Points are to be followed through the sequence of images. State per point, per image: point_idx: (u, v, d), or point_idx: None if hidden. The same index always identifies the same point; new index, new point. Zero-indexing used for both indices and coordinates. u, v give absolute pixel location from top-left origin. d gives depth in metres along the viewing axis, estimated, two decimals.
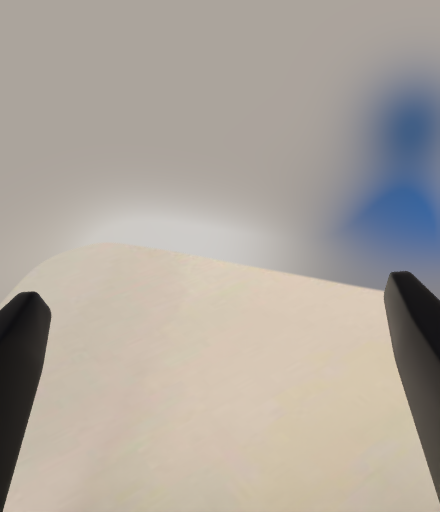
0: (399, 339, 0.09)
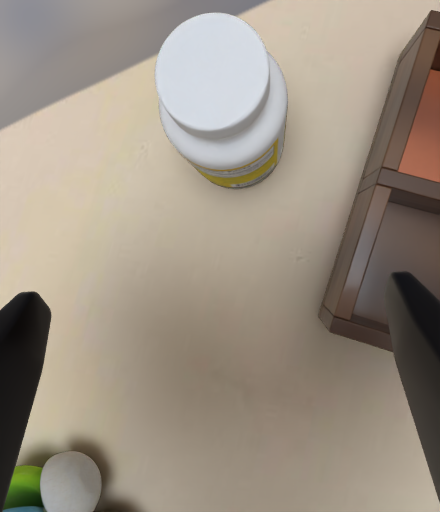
0: (399, 339, 0.09)
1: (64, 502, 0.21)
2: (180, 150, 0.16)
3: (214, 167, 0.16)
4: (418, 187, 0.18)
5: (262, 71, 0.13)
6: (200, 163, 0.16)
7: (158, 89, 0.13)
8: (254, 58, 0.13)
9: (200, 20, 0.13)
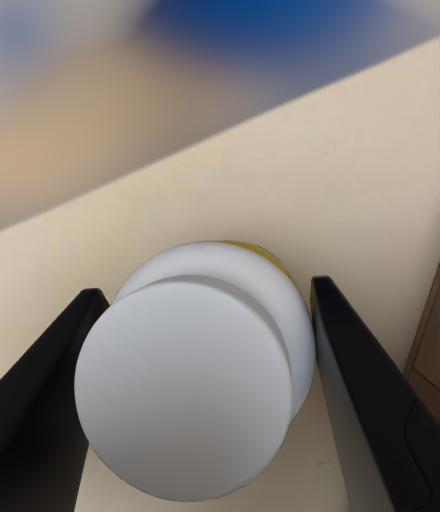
0: (317, 342, 0.09)
1: None
2: None
3: None
4: None
5: (279, 405, 0.07)
6: None
7: (80, 418, 0.07)
8: (263, 379, 0.07)
9: (158, 298, 0.07)
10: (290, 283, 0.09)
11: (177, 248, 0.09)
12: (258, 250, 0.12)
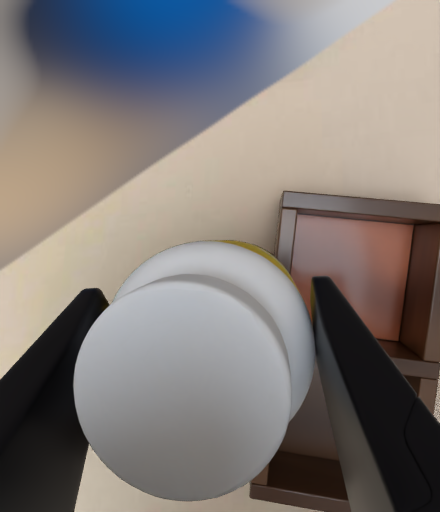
0: (317, 342, 0.09)
1: None
2: None
3: None
4: None
5: (278, 404, 0.07)
6: None
7: (79, 417, 0.07)
8: (262, 378, 0.07)
9: (157, 297, 0.07)
10: (289, 282, 0.09)
11: (176, 247, 0.09)
12: (257, 250, 0.12)
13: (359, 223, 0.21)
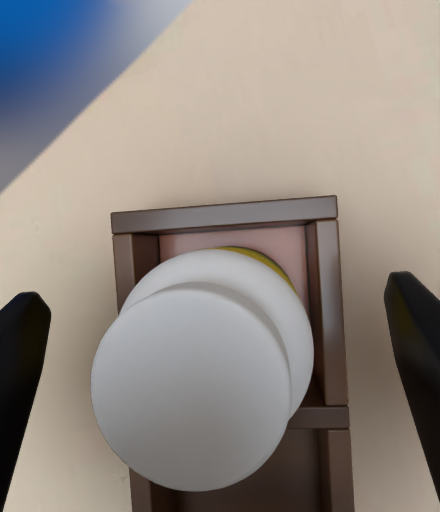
0: (399, 339, 0.09)
1: None
2: None
3: None
4: None
5: (279, 403, 0.07)
6: None
7: (96, 414, 0.08)
8: (264, 379, 0.07)
9: (169, 304, 0.07)
10: (290, 289, 0.10)
11: (184, 256, 0.10)
12: (259, 257, 0.12)
13: (238, 234, 0.17)
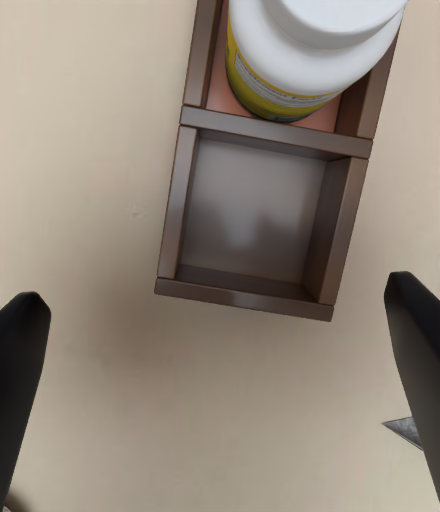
0: (399, 339, 0.09)
1: None
2: (248, 50, 0.12)
3: (283, 86, 0.12)
4: (224, 124, 0.16)
5: None
6: (268, 76, 0.12)
7: None
8: None
9: None
10: None
11: None
12: None
13: None
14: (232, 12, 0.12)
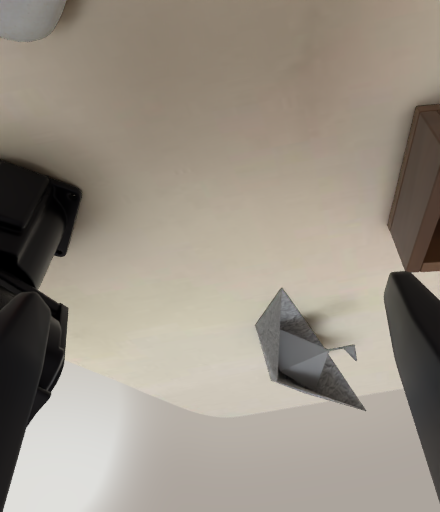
0: (399, 339, 0.09)
1: None
2: None
3: None
4: None
5: None
6: None
7: None
8: None
9: None
10: None
11: None
12: None
13: None
14: None
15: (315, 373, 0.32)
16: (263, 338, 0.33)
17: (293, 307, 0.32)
